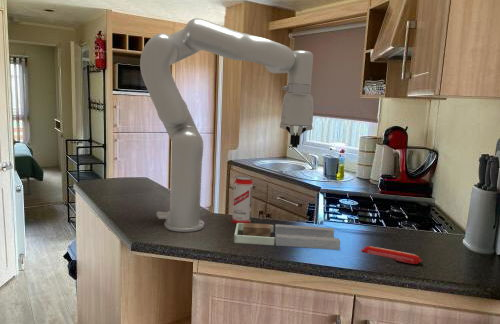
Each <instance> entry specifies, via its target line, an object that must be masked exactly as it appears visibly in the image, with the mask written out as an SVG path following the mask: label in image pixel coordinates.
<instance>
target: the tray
mask: <svg viewBox="0 0 500 324" xmlns="http://www.w3.org/2000/svg"><path fill="white" fill-rule="evenodd" d="M235 225H236V227H235V231H234V234H233V243H235V244H246V245H247V244H251V245H262V246H263V245H264V246H275V242H276V241H275V236H274V237H273V236H270V237H261V236H247V235H243V234H239V231H243V226H244V223H237V224H235ZM274 230H275V226H274V224H271V232H270V233H274Z"/></svg>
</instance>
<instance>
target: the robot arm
mask: <svg viewBox="0 0 500 324" xmlns="http://www.w3.org/2000/svg"><path fill="white" fill-rule="evenodd" d="M200 51H205V52H208V53H211V54H214V55H218V56H220V57H222V58H226V59H229V60H233V61H243V62H244V61H245V62H252V63H256V64H260V65H262V66H264V68H265V69H266V70H267V71H268V72H270V73H271V74H287V84H286V85H283V86H282V90H283V91H284V92H286V93H285V94H283V95H284V96H283V99H282V105H281V114H280V124H279V128H280V129H283V130H286V131H287V132H288V133H289V134H290V138H289V139H290V140H289V141H290V142H289V145H291V147H292V148H296V149H297V148H298V146H300V141H301V135H302V134H304V132H306V131H307V132H308V131H311V130H313V129H314V128H313V122H314V96H313V95H311V92H312V91H311V89H312V76H313V65H314V63H313V62H314V54H313V52H311V51H308V50H292V49H291V48H290V47H289V46H287V45H284V44H281V43H279V42H276V41H274V40H271V39H267V38H265V37H261V36H257V35H252V34H249V33H246V32H245V33H244V32H240V31H237V30H234V29H232V28H229V27H226V26H224V25H220V24H217V23H214V22H211V21H210V20H206V19H203V18H197V17H195V18H192V19H190V20H189V21H188V22H187V24H185V27H184V28H182V29H180V30H179V31H176V32H174V33H172V34H168V33H163V32H161V33H157V34H154V35H153V36H152V37H150V39H148V41H147V42H146V43H145V45H144V47H143V48H142V51H141V54H140V60H139V63H140V64H139V68H140V74H141V77H142V80H143V82H144V85H145V87H146V89H147V92H148V94H149V96H150V99H151V101H152V103H153V105H154V108H155V110H156V113H157V116H158V118H159V120H160V121H161V122H162V125H163V126H164V128H165V131H166V132H167V134H168V138H169V139H170V142H171V150H170V151H171V155H170V156H171V157H170V158H171V160H170V161H171V162H170V163H171V164H170V194H169V195H170V197H169V198H170V199H169V200H170V201H169V210H168V211H157V212H156V218H157V219H158V220H165V222H164V228H165V229H167V230H170V231H173V232H182V233H188V232H189V233H190V232H197V231H200V230H202V229H203V228H204V227H205V222H204V221H203V220H202V219H200V218H201V216H200V215H201V199H202V198H201V197H202V196H201V194H202V171H203V170H202V169H203V156H204V140H203V137H202V135H201V133H200V132H199V130H198V128H197V126H196V124H195V121H194V119H193V117H192V115H191V112H190V110H189V108H188V105H187V102H186V101H185V100H184V99H183V97H182V95H181V92H180V90H179V89H178V88H179V87H178V86H177V84H176V81H175V79H174V76H173V74H172V71H171V66H172V65H175V64H176V63H178V62H180V61H182V60H184V59H187V58H188V57H191V56H193V55H195V54H197V53H199V52H200ZM294 126H295V127H297V132H296V133H295V128H294Z"/></svg>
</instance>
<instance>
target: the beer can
mask: <svg viewBox="0 0 500 324" xmlns="http://www.w3.org/2000/svg"><path fill="white" fill-rule="evenodd" d="M253 186H254V183H253V180H252V177H251V176H245V175H243V176H241V175H239V176H236V177H235V181H234V183H233V201H232V202H233V203H232V217H231V221H232V223H233V224H235V225H237V223H251V221H252V220H251V219H252V206H253V205H252V204H253V189H254V188H253Z"/></svg>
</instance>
